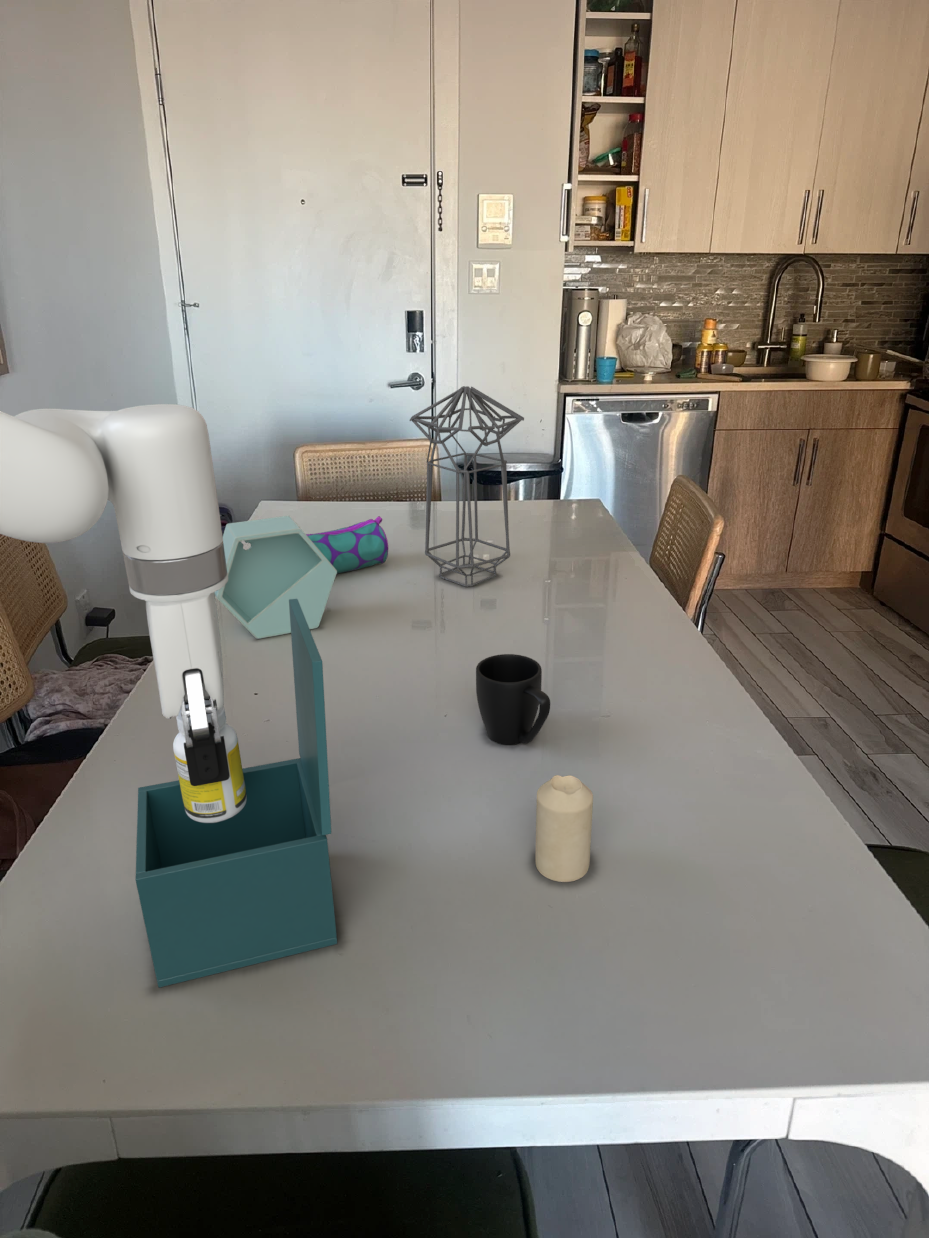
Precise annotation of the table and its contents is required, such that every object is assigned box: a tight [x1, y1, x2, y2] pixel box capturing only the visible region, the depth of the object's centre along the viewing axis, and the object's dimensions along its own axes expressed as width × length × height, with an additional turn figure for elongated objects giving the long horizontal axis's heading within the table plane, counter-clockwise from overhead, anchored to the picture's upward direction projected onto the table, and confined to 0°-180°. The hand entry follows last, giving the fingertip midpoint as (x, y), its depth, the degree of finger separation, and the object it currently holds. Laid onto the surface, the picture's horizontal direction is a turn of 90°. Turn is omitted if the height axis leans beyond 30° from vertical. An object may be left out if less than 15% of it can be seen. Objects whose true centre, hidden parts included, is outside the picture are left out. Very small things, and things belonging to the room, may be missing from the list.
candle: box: [534, 774, 594, 883], centre depth 87 cm, size 6×6×10 cm
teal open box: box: [134, 757, 338, 988], centre depth 81 cm, size 16×14×12 cm
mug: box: [475, 653, 551, 746], centre depth 109 cm, size 8×12×10 cm
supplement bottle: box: [172, 699, 247, 823], centre depth 76 cm, size 5×5×10 cm
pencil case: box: [305, 515, 389, 575], centre depth 166 cm, size 21×9×10 cm, turn 116°
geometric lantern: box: [409, 385, 525, 588], centre depth 157 cm, size 16×16×35 cm
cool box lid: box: [289, 599, 332, 836], centre depth 77 cm, size 16×14×1 cm
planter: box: [215, 515, 337, 640], centre depth 141 cm, size 17×8×21 cm
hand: (208, 760), depth 76 cm, fingers closed on supplement bottle, 5 cm apart
